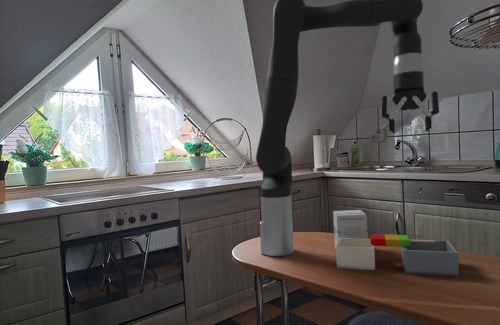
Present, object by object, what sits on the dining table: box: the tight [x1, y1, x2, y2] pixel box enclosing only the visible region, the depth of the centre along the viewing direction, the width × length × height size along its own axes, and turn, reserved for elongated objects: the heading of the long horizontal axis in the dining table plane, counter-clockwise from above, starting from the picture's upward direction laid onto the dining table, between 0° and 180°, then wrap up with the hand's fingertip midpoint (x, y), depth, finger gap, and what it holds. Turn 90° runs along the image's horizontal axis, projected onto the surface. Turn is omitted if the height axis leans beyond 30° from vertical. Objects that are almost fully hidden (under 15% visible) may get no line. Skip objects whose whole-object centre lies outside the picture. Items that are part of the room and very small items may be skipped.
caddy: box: [400, 238, 460, 278], centre depth 88 cm, size 11×11×6 cm
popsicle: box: [369, 233, 435, 248], centre depth 90 cm, size 6×2×15 cm
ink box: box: [332, 209, 369, 250], centre depth 104 cm, size 9×9×12 cm
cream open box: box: [335, 238, 376, 271], centre depth 93 cm, size 9×9×6 cm
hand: (410, 132), depth 98 cm, fingers open, 8 cm apart
